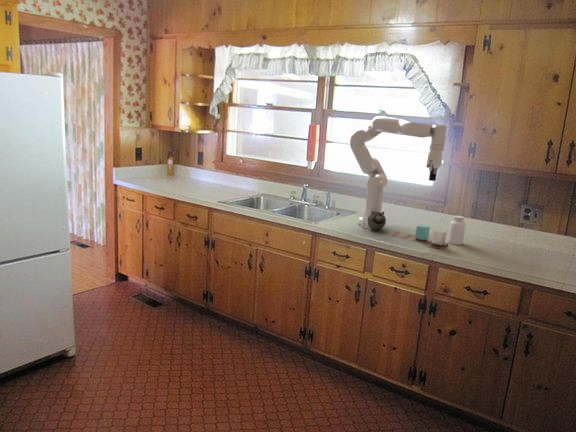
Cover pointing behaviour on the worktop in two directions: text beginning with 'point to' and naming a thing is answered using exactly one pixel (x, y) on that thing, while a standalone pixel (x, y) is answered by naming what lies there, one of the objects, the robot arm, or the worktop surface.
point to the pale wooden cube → (438, 238)
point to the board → (412, 238)
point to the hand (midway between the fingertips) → (432, 180)
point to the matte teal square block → (422, 232)
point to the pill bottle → (456, 230)
